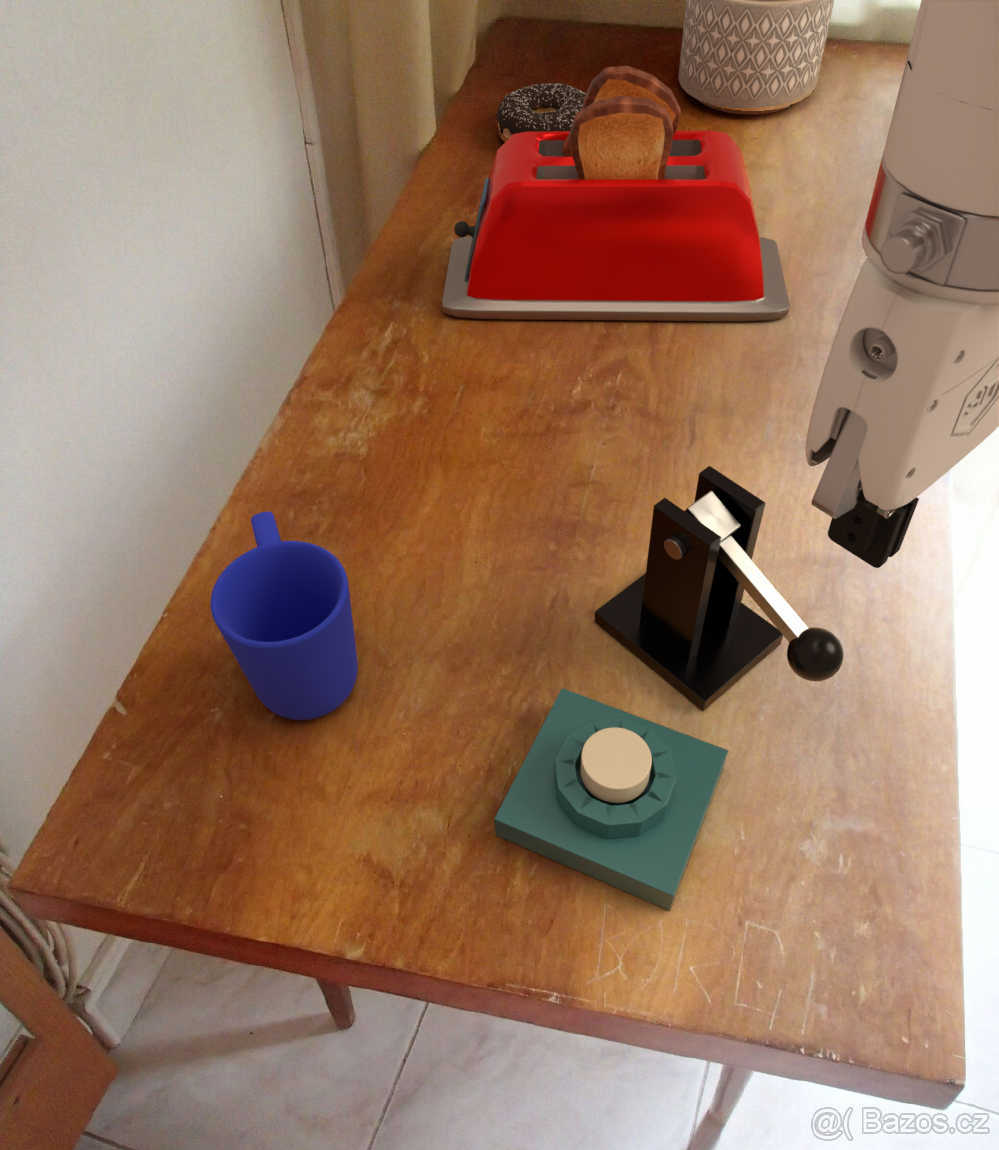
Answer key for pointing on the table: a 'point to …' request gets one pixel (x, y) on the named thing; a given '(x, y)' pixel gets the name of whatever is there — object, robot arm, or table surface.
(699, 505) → the lever
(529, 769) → the button block
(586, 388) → the table surface
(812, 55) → the planter
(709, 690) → the bracket
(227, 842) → the table surface
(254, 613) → the mug
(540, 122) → the donut
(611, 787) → the button
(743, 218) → the toaster
